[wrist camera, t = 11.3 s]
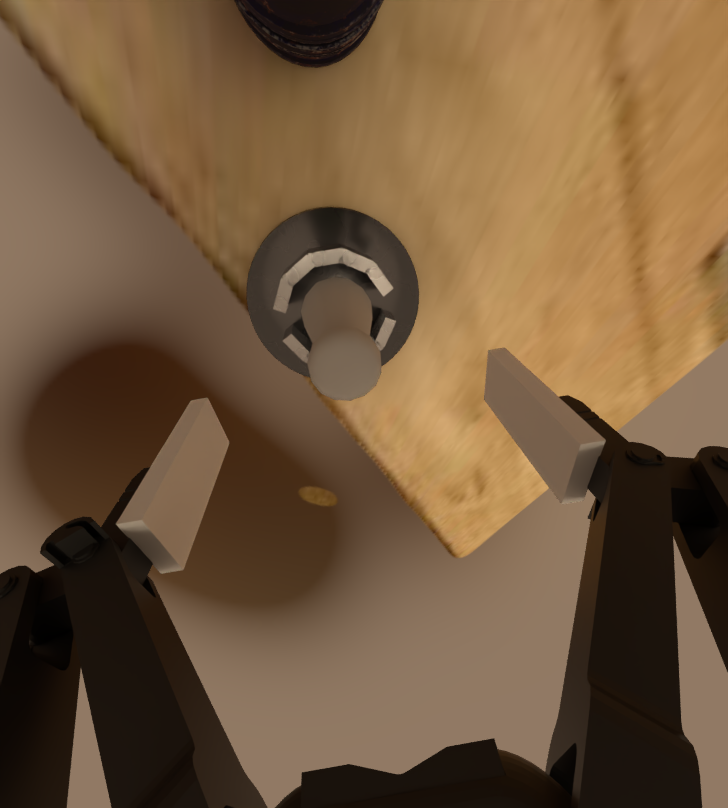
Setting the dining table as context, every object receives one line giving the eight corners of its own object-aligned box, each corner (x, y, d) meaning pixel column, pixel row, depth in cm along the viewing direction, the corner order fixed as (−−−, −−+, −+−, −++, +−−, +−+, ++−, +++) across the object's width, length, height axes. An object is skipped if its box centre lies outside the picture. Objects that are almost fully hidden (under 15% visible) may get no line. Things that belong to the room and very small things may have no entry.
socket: (221, 224, 25) (209, 228, 23) (412, 192, 26) (423, 192, 23) (276, 388, 34) (272, 406, 31) (420, 363, 34) (428, 378, 31)
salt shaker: (291, 316, 29) (274, 391, 18) (322, 256, 27) (324, 302, 16) (347, 347, 31) (362, 430, 20) (381, 294, 29) (418, 357, 18)
